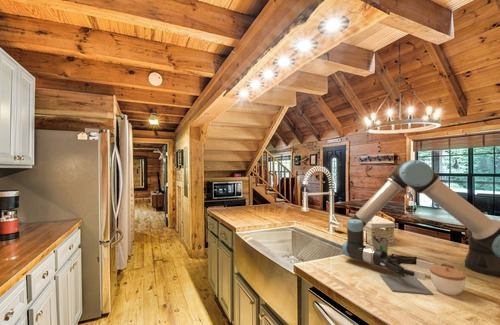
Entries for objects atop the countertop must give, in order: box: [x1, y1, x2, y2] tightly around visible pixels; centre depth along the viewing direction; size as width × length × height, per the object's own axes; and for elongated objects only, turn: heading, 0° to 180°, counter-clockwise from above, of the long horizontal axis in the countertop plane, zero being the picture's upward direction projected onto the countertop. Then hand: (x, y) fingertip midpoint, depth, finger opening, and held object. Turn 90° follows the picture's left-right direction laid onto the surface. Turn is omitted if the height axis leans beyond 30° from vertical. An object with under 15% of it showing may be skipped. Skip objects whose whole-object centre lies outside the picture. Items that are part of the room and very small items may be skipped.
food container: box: [372, 235, 389, 255], centre depth 126 cm, size 12×6×10 cm, turn 168°
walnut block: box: [439, 263, 455, 269], centre depth 105 cm, size 4×4×4 cm
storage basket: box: [363, 215, 396, 247], centre depth 155 cm, size 24×16×15 cm
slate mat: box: [379, 273, 434, 296], centre depth 97 cm, size 14×14×1 cm
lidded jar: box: [429, 265, 467, 296], centre depth 91 cm, size 11×11×9 cm
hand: (430, 271), depth 95 cm, fingers open, 13 cm apart
